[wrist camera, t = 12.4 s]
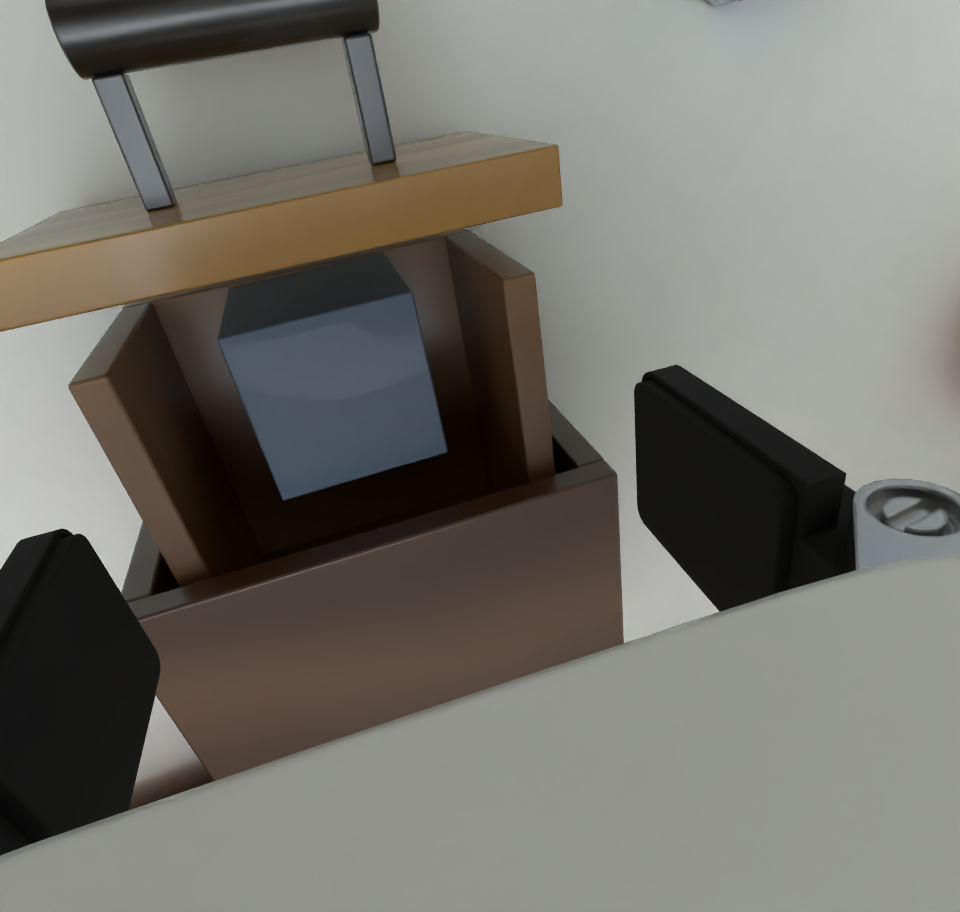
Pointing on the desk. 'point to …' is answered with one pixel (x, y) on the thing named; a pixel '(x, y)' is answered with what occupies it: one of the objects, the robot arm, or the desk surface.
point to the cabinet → (387, 615)
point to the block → (332, 373)
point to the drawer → (273, 253)
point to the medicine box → (721, 2)
